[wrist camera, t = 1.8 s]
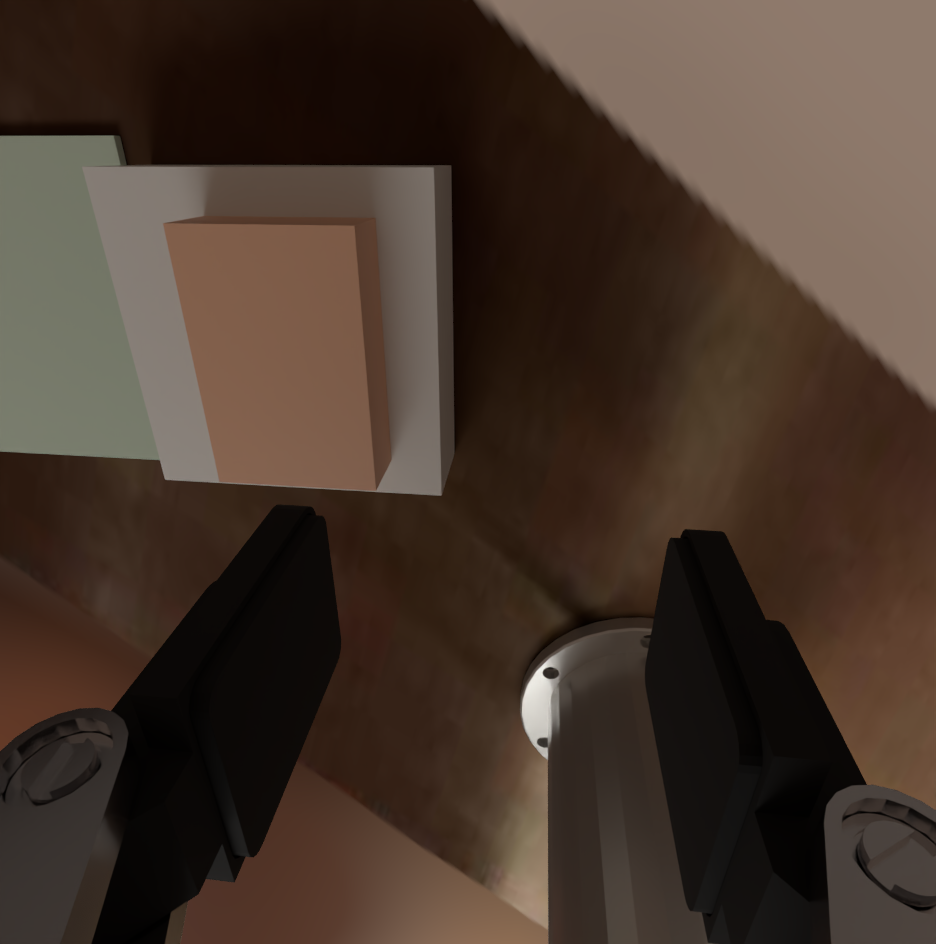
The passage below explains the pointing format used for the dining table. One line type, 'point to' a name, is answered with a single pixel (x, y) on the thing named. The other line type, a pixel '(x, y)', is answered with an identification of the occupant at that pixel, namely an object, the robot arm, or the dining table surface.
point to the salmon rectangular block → (287, 346)
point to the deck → (289, 195)
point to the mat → (62, 309)
